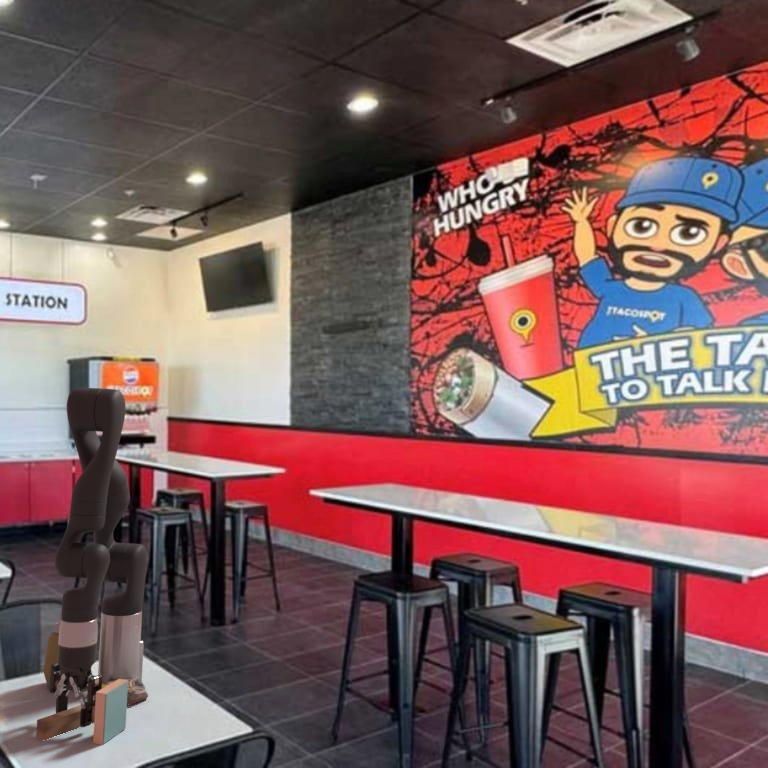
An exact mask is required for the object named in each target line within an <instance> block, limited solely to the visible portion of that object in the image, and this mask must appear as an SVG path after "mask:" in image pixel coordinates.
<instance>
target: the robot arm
mask: <svg viewBox="0 0 768 768" xmlns="http://www.w3.org/2000/svg"><path fill="white" fill-rule="evenodd" d="M126 410H127V409H126V399H125V396H124V394H123V393H122V391H121V390H118V389H115V388H101V387H100V388H98V387H96V388H95V387H78V388H77V387H76V388H74V389H72V390H71V391H70V392H69V394H68V397H67V401H66V414H67V421H68V425H69V429H70V431H71V434H72V439H73V442H74V444H75V448H76V451H77V455H78V458H79V463H80V469H81V474H80V475H79V477H78V479H77V480H76V482H75V484H74V485H73V490H72V492H71V493H72V494H71V501H70V509H69V519H68V522H67V527H66V529H65V532H64V533H63V537H62V540H61V542H60V544H59V546H58V550H57V551H56V554H55V558H54V566H55V570H56V571H57V574H59V575H60V576H61V577H63V578H64V577H65V578H82V579H86V583H85V585H84V586H79V587H74V588H73V587H72V588H70V589H67V590H66V591H65V592H64V593H63V594H62V600H61V614H60V617H61V624H60V629H59V641H58V656H57V663H55V664H52V665H51V674H50V688H49V687H48V688H49V689H48V690H49V693H50V694H53V695H54V698H55V699H56V701H55V714H56V713H59V712H62V711H65V710H67V709H68V705H69V704H68V703H69V696H68V694H69V693H70V691H71V692H72V693H74V696H75V698H76V699H77V700H79V705H81V707H82V708H81V715H80V726H81V728H86V727H88V726H90V725H92V724H91V722H92V714H93V707H94V706H95V702H96V697H94V696H96V692H97V691H99V690H101V689H102V682H107V681H116V680H118V679H135V678H140V679H141V680H143V665H144V663H143V662H144V646H145V645H144V643H145V642H144V640H141V639H142V636H141V635H142V621H143V617H142V616H143V605H144V597H145V585H146V577H147V576H146V575H147V574H146V573H147V567H148V551H147V548H146V546H145V545H143V544H141V543H128V542H126V543H125V542H116V540H115V539H114V531H115V529H116V526H117V525H118V524H119V522H120V521H121V519H122V517H123V516H124V515H125V513H126V511H127V509H128V507H129V505H130V500H131V495H130V489H129V482H128V477H127V473H126V471H125V470H124V468H123V467H122V465H121V464H120V463H119V462H118V460H117V459H116V456H117V453H118V449H119V444H120V441H121V437H122V436H121V435H122V432H123V428H124V423H125V418H126ZM97 432H101V439H100V438H99V437H98V434H97ZM88 533H93V541H94V543H92V542H91V543H90V542H89V543H88V542H80V541H81V539H82V538H83V536H84V535H85V534H88ZM104 582H107V583H118V584H119V583H121V584H126V587H125V590H124V591H122V592H119V593H117V594H113V595H110V596H107V597H106V598H103V600H102V603H101V615H100V631H99V628H98V627H99V625H98V614H99V613H98V611H99V601H100V600H99V599H100V594H101V589H102V586H103V583H104ZM99 632H100V633H99ZM98 633H99V634H98ZM99 635H100V637H98V636H99ZM98 639H99V650H98ZM97 650H98V651H99V652H98V665H97V666H98V668H97V675H93V672H92V666H93V665H94V664H95V663H96V662H97ZM56 681H58V685H57V686H55V682H56ZM85 690H86V691H85ZM85 697H86V698H85Z"/></svg>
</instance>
